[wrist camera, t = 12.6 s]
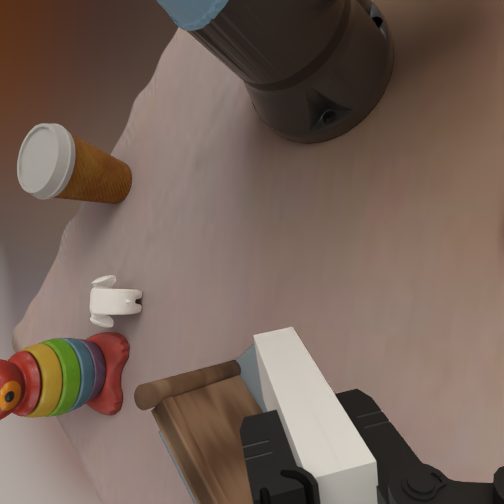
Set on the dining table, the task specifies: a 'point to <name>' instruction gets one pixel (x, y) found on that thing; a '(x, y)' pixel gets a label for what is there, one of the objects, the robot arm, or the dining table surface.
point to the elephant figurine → (111, 301)
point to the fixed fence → (205, 428)
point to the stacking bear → (64, 376)
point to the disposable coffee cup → (69, 168)
